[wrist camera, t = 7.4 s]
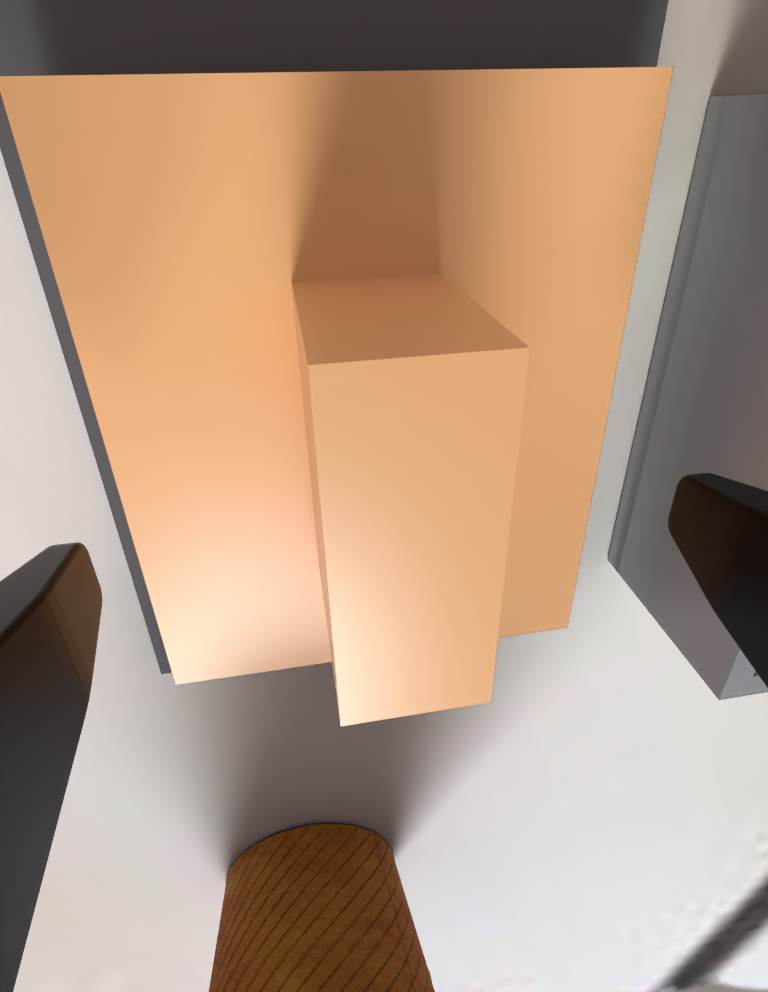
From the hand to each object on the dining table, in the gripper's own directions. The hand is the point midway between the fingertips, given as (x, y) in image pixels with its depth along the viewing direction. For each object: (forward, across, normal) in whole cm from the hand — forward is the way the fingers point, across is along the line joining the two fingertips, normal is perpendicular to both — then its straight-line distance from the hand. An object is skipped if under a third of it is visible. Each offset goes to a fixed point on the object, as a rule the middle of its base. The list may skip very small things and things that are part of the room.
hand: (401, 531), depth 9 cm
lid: (+5, 0, 0) cm, 5 cm away
